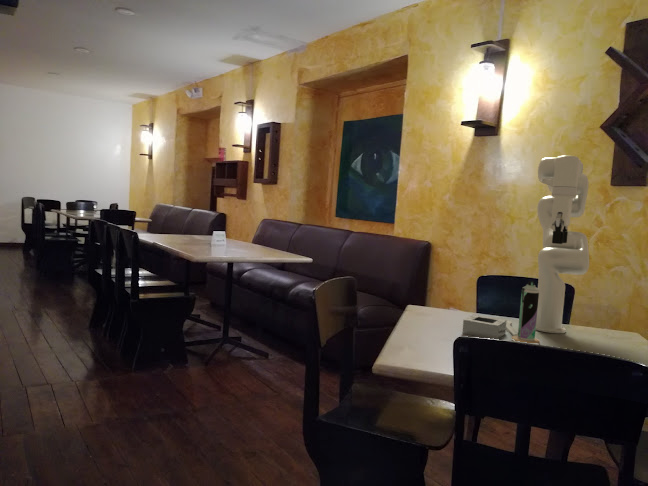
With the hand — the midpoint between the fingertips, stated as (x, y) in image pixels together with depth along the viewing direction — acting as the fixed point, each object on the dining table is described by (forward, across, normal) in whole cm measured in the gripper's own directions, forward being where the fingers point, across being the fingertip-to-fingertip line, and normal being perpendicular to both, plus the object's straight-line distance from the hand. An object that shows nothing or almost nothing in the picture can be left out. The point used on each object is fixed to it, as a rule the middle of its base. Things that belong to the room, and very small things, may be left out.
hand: (559, 243), depth 172 cm
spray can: (+34, +6, -7) cm, 35 cm away
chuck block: (+34, +6, -21) cm, 41 cm away
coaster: (+34, +6, -7) cm, 36 cm away
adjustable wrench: (+35, -7, -16) cm, 39 cm away
